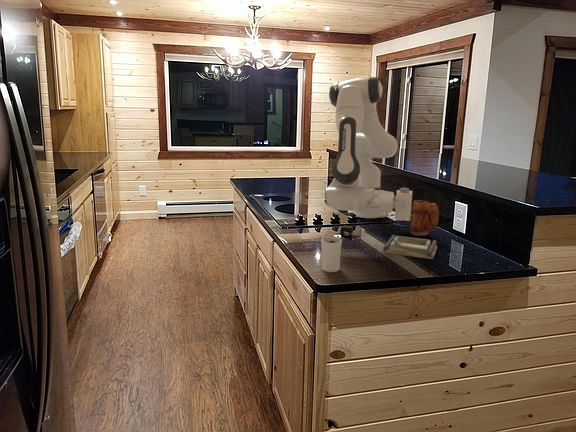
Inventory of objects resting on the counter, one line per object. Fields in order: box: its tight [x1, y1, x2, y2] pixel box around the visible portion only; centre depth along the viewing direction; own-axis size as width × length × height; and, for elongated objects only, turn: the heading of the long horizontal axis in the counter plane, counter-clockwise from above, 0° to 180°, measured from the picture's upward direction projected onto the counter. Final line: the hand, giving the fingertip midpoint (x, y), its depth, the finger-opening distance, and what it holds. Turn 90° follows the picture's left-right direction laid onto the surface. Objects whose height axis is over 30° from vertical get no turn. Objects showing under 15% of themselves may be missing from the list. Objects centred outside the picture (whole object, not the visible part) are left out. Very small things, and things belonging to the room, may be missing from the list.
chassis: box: [381, 234, 438, 260], centre depth 174 cm, size 17×18×3 cm
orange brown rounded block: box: [408, 199, 440, 237], centre depth 189 cm, size 15×8×15 cm, turn 22°
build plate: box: [332, 225, 360, 240], centre depth 191 cm, size 12×7×5 cm, turn 56°
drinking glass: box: [320, 236, 343, 273], centre depth 153 cm, size 7×7×10 cm
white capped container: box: [394, 187, 413, 222], centre depth 171 cm, size 6×6×11 cm
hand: (406, 202), depth 171 cm, fingers closed on white capped container, 5 cm apart
